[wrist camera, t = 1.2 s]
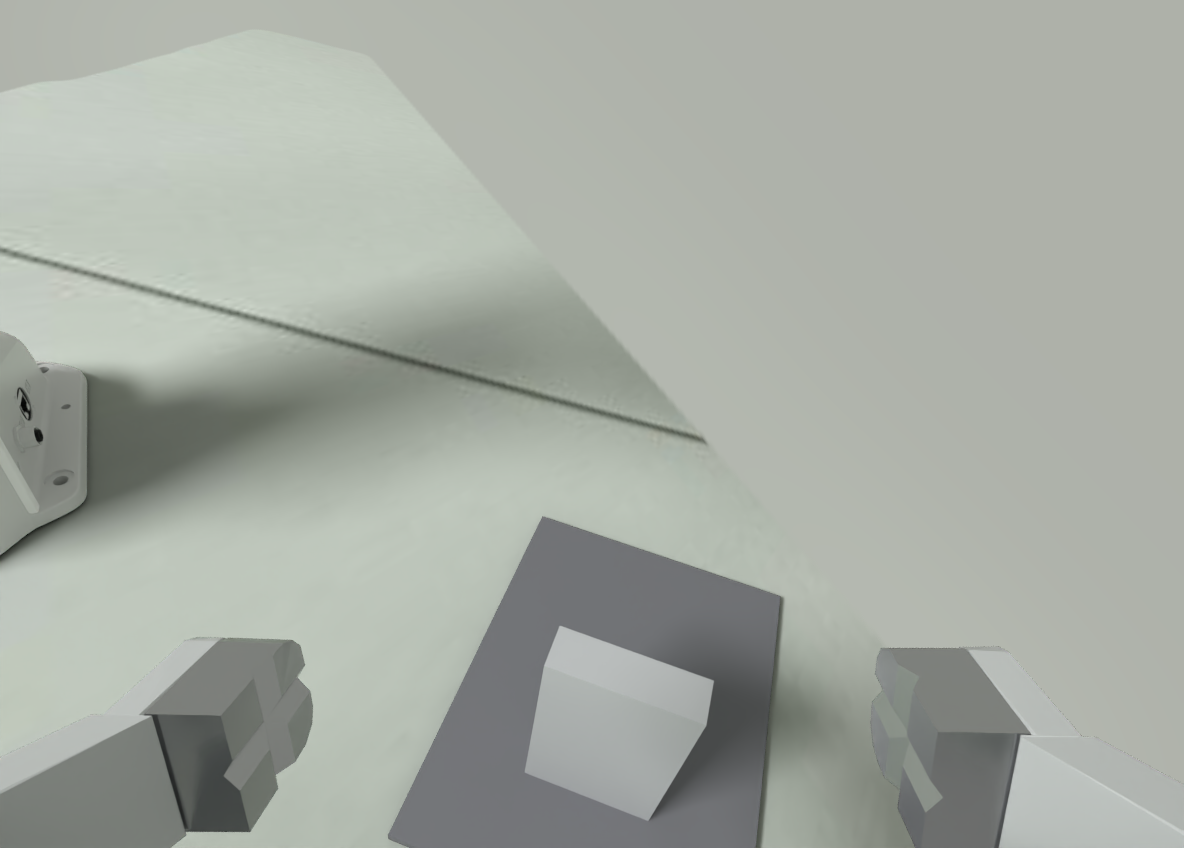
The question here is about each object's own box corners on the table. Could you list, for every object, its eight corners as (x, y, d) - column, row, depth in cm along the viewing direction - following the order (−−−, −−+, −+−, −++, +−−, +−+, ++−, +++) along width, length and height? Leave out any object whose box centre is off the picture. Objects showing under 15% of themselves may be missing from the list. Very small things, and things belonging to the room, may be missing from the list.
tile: (648, 821, 34) (706, 725, 26) (524, 772, 35) (543, 665, 27) (657, 779, 36) (714, 677, 28) (538, 734, 37) (560, 622, 29)
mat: (738, 985, 30) (742, 983, 30) (388, 839, 33) (387, 835, 32) (777, 600, 46) (780, 596, 46) (541, 521, 49) (542, 516, 48)
